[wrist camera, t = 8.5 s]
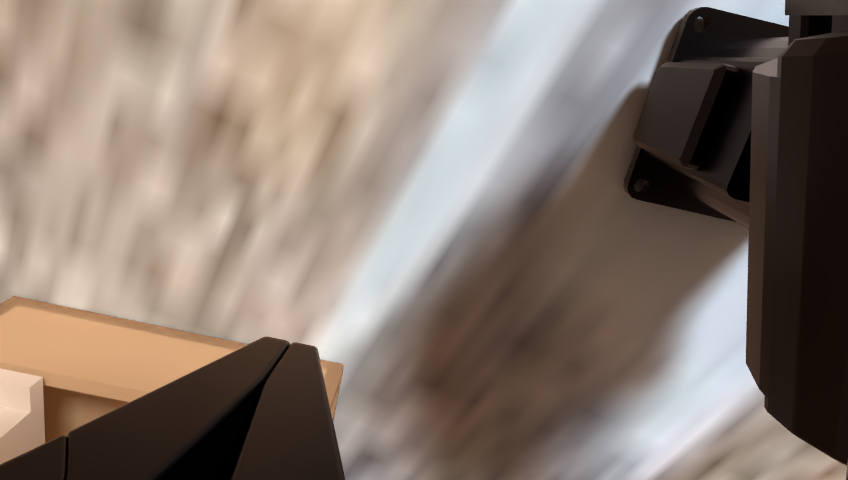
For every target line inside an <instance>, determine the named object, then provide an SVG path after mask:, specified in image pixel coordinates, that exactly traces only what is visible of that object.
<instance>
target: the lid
mask: <svg viewBox="0 0 848 480" xmlns="http://www.w3.org/2000/svg"><path fill="white" fill-rule="evenodd" d="M44 443H45V425H44V398H43V377H40V376H35V375H30V374H26V373H21V372H16V371H11V370H6V369H1V368H0V464H2V463H4V462H6V461H8V460H10V459H13V458H15V457H17V456H19V455H21V454H23V453H26V452H28V451H30V450H32V449H34V448H36V447H38V446H40V445H42V444H44Z"/></svg>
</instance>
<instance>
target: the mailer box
mask: <svg viewBox="0 0 848 480" xmlns="http://www.w3.org/2000/svg"><path fill="white" fill-rule="evenodd" d="M246 345H248V344H243V343H238V342H233V341H228V340H223V339H219V338H214V337H209V336H204V335H199V334H194V333H190V332H185V331H180V330H175V329H170V328H165V327H161V326H156V325H151V324H146V323H141V322H136V321H132V320H127V319H122V318H117V317H112V316H108V315H103V314H98V313H93V312H88V311H83V310H79V309H74V308H69V307H64V306H59V305H54V304H50V303H45V302H40V301H35V300H30V299H25V298H21V297H16V296H13V297H12V298H10V299H8V300H6V301H5V302H3V303H1V304H0V368H1V369H6V370H11V371H16V372H21V373H26V374H30V375H35V376H40V377H43V398H44V425H45V443H46V442H49V441H51V440H53V439H55V438H57V437H59V436H61V435H65V436H67V435H68V433H69V432H70V431H72V430H74V429H76V428H78V427H80V426H82V425H84V424H86V423H88V422H90V421H92V420H94V419H96V418H98V417H100V416H102V415H104V414H107V413H109V412H111V411H113V410H115V409H117V408H119V407H121V406H123V405H125V404H127V403H129V402H131V401H133V400H135V399H137V398H139V397H141V396H144V395H146V394H148V393H150V392H152V391H154V390H156V389H158V388H160V387H162V386H164V385H166V384H168V383H170V382H172V381H174V380H176V379H178V378H181V377H183V376H185V375H187V374H189V373H191V372H193V371H195V370H197V369H199V368H201V367H203V366H205V365H207V364H209V363H211V362H213V361H215V360H218V359H220V358H222V357H224V356H226V355H228V354H230V353H232V352H234V351H236V350H238V349H240V348H242V347H244V346H246ZM320 363H321V368H322V372H323V377H324V382H325V386H326V391H327V396H328V400H329V405H330V410H331V415H332V419H334V414H335V409H336V404H337V399H338V393H339V388H340V383H341V378H342V373H343V368H344V364H339V363H334V362H330V361H325V360H320Z"/></svg>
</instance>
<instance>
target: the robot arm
mask: <svg viewBox="0 0 848 480" xmlns="http://www.w3.org/2000/svg"><path fill="white" fill-rule="evenodd" d="M785 15H789V27H787V26H783V25H779V24H775V23H771V22H767V21H763V20H758V19H754V18H750V17H746V16H742V15H738V14H734V13H729V12H725V11H721V10H717V9H713V8H709V7H700V8H695V9H693V10H690V11H689V12H688V13H687V14H686V15H685V16H684V18H683V19H682V21H681V24H680V27H679V30H678V32H677V35H676V38H675V41H674V44H673V46H672V49H671V52H670V55H669V58H668V60H667V62H666V63H664V64H662V65H661V66H659V67H658V68H657V70H656V73H655V76H654V79H653V82H652V84H651V87H650V90H649V93H648V96H647V99H646V101H645V104H644V107H643V110H642V113H641V116H640V118H639V121H638V124H637V127H636V130H635V133H634V135H633V139H634V141H635V143H636V145H637V147H636V150H635V153H634V155H633V158H632V161H631V164H630V167H629V169H628V172H627V175H626V178H625V181H624V189H625V191H626V192H627V194H628V195H630V196H631V197H632V198H635V199H637V200H641V201H646V202H650V203H655V204H659V205H664V206H668V207H673V208H677V209H681V210H686V211H690V212H695V213H699V214H704V215H708V216H713V217H717V218H721V219H726V220H730V221H735V222H738V223H740V224H742V225H743V226H745V227H747V228H749V247H748V289H747V332H746V364H747V366H748V368H749V370H750V372H751V374H752V376H753V378H754V380H755V382H756V384H757V386H758V388H759V389H760V390H761V392H762V393H763V394H764V395H765V403H764V407H765V409H766V410H767V412H768V413H769V414H770V415H772V416H773V417H774V418H775V419H776V420H777V421H779V422H780V423H781V424H782V425H783V426H784V427H786V428H787V429H788V430H789V431H790V432H791V433H793V434H794V435H796V436H797V437H799V438H800V439H802V440H803V441H805V442H807V443H808V444H810V445H812V446H813V447H815V448H817V449H818V450H820V451H821V452H823V453H825V454H826V455H828V456H830V457H831V458H833V459H835V460H836V461H838V462H840V463H842V464H844V465H846V466H847V473H846V480H848V0H785ZM699 16H700V17H701V18H703V20H704V26H703V28H702V30H701V31H699V32H697V31H696V30H695V29H694V21H695V20H696V18H697V17H699ZM640 179H644V181H645V185H644V187H643V188H642V189H640V190H635V189H634V186H635V183H636V182H637V181H638V180H640ZM0 480H345V476H344V471H343V466H342V462H341V457H340V452H339V448H338V443H337V438H336V433H335V429H334V424H333V419H332V415H331V410H330V405H329V400H328V396H327V391H326V386H325V382H324V377H323V372H322V368H321V363H320V358H319V353H318V350H317V348H316V347H315V346H310V345H305V344H301V343H292V344H291V345H290V343H289V342H288V341H286V340H281V339H277V338H272V337H263V338H261V339H259V340H257V341H255V342H252V343H250V344H248V345H246V346H244V347H242V348H240V349H238V350H236V351H234V352H232V353H230V354H228V355H226V356H224V357H222V358H220V359H218V360H215V361H213V362H211V363H209V364H207V365H205V366H203V367H201V368H199V369H197V370H195V371H193V372H191V373H189V374H187V375H185V376H183V377H181V378H178V379H176V380H174V381H172V382H170V383H168V384H166V385H164V386H162V387H160V388H158V389H156V390H154V391H152V392H150V393H148V394H146V395H144V396H141V397H139V398H137V399H135V400H133V401H131V402H129V403H127V404H125V405H123V406H121V407H119V408H117V409H115V410H113V411H111V412H109V413H107V414H104V415H102V416H100V417H98V418H96V419H94V420H92V421H90V422H88V423H86V424H84V425H82V426H80V427H78V428H76V429H74V430H72V431H70V432H69V433H68V435H67V436H65V435H61V436H59V437H57V438H55V439H53V440H51V441H49V442H46V443H44V444H42V445H40V446H38V447H36V448H34V449H32V450H30V451H28V452H26V453H23V454H21V455H19V456H17V457H15V458H13V459H10V460H8V461H6V462H4V463H2V464H0Z"/></svg>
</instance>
